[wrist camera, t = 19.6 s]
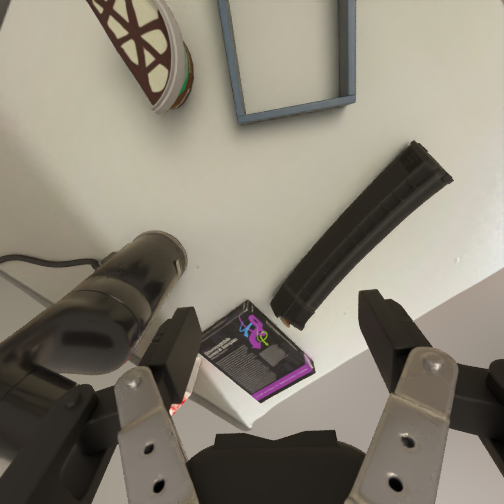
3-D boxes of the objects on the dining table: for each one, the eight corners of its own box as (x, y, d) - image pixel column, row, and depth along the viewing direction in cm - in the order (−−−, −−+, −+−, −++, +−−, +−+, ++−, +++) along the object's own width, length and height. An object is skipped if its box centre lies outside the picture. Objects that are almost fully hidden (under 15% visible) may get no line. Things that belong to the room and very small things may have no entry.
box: (313, 359, 52) (248, 297, 46) (316, 374, 49) (247, 309, 43) (260, 388, 56) (195, 335, 51) (260, 404, 53) (190, 349, 47)
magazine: (474, 118, 25) (293, 360, 28) (495, 140, 26) (316, 374, 29) (373, 151, 42) (266, 300, 45) (388, 164, 42) (281, 310, 45)
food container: (222, 92, 33) (204, 77, 24) (184, 119, 35) (154, 115, 26) (163, -19, 29) (115, -87, 20) (122, 17, 31) (61, -31, 22)
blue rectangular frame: (241, 124, 35) (238, 124, 31) (211, -65, 27) (202, -95, 24) (346, 105, 33) (355, 102, 29) (344, -102, 26) (356, -141, 22)
